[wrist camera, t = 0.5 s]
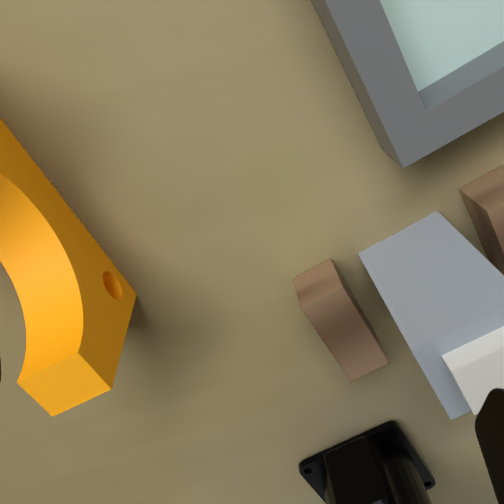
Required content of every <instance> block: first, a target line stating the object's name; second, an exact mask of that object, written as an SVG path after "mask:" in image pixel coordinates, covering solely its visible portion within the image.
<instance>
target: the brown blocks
mask: <svg viewBox="0 0 504 504" xmlns="http://www.w3.org/2000/svg"><path fill="white" fill-rule="evenodd" d="M459 190H460V192H461V195H462V197H463V200H464V202H465V204H466V207H467V209H468V212H469V214H470V217H471V219H472V221H473V224H474V226H475V229H476V231H477V233H478V236H479V238H480V241H481V243H482V245H483V248H484V250H485V253H486V255H487V258H488V260H489V262H490V263H491V264H492V265H493V266H494V267H495V268H496V269H498V270H499V271H500V272H501V273H502V274H503V275H504V166H500V167H499V168H497V169H495V170H493V171H491V172H489V173H488V174H486V175H484V176H482V177H480V178H478V179H476V180H475V181H473V182H471V183H469V184H467V185H465V186H464V187H462V188H460V189H459ZM293 280H294V284H295V287H296V291H297V295H298V298H299V302H300V306H301V309H302V311H303V312H304V313H305V315H306V316H307V318H308V319H309V321H310V322H311V324H312V325H313V327H314V328H315V330H316V331H317V332H318V334H319V335H320V337H321V338H322V340H323V341H324V343H325V344H326V346H327V347H328V349H329V350H330V352H331V353H332V354H333V356H334V357H335V359H336V360H337V362H338V363H339V365H340V366H341V368H342V369H343V371H344V372H345V373H346V375H347V376H348V378H349V379H350V381H353V380H356V379H358V378H360V377H362V376H364V375H366V374H368V373H370V372H372V371H374V370H376V369H378V368H380V367H383V366H385V365H387V364H389V361H388V359H387V357H386V355H385V353H384V350H383V348H382V346H381V344H380V342H379V340H378V338H377V336H376V333H375V331H374V329H373V328H372V326H371V325H370V323H369V321H368V320H367V318H366V316H365V315H364V313H363V311H362V310H361V308H360V306H359V305H358V303H357V301H356V300H355V298H354V296H353V295H352V293H351V292H350V290H349V288H348V287H347V285H346V283H345V282H344V280H343V278H342V277H341V275H340V273H339V272H338V270H337V268H336V267H335V265H334V263H333V262H332V260H331V259H329V260H327V261H325V262H323V263H321V264H319V265H318V266H316V267H314V268H312V269H310V270H308V271H306V272H305V273H303V274H301V275H299V276H297V277H295V278H294V279H293Z"/></svg>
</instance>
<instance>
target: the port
mask: <svg viewBox="0 0 504 504" xmlns="http://www.w3.org/2000/svg"><path fill="white" fill-rule="evenodd" d="M311 2H312V4H313V6H314V8H315V10H316V12H317V14H318V16H319V18H320V20H321V22H322V25H323V27H324V29H325V31H326V33H327V35H328V37H329V39H330V41H331V43H332V45H333V47H334V50H335V52H336V54H337V56H338V58H339V60H340V62H341V64H342V66H343V68H344V70H345V72H346V75H347V77H348V79H349V81H350V83H351V85H352V87H353V89H354V91H355V93H356V95H357V98H358V100H359V102H360V104H361V106H362V108H363V110H364V112H365V114H366V116H367V118H368V120H369V123H370V125H371V127H372V129H373V131H374V133H375V135H376V137H377V139H378V141H379V143H380V146H381V148H382V149H383V150H384V151H385V152H386V153H387V154H388V155H389V156H390V157H391V158H392V159H394V160H395V161H396V162H397V163H398V164H399V165H400V166H401V167H402V168H405V167H407V166H409V165H410V164H412V163H414V162H416V161H417V160H419V159H421V158H423V157H425V156H426V155H428V154H430V153H432V152H433V151H435V150H437V149H439V148H441V147H442V146H444V145H446V144H448V143H449V142H451V141H453V140H455V139H457V138H458V137H460V136H462V135H464V134H465V133H467V132H469V131H471V130H473V129H474V128H476V127H478V126H480V125H481V124H483V123H485V122H487V121H488V120H490V119H492V118H494V117H496V116H497V115H499V114H501V113H503V112H504V0H311Z"/></svg>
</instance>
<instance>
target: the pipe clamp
mask: <svg viewBox="0 0 504 504" xmlns="http://www.w3.org/2000/svg"><path fill="white" fill-rule="evenodd" d="M0 261H1V263H2V264H3V266H4V268H5V269H6V271H7V272H8V274H9V276H10V278H11V280H12V282H13V284H14V287H15V289H16V291H17V294H18V297H19V299H20V302H21V306H22V309H23V313H24V319H25V324H26V355H25V360H24V364H23V368H22V371H21V374H20V376H19V378H18V381H17V383H18V384H19V385H20V386H21V387H22V388H23V389H24V390H25V391H26V392H27V393H28V394H29V395H30V396H32V397H33V398H34V399H35V400H36V401H37V402H38V403H39V404H40V405H41V406H42V407H43V408H44V409H45V410H46V411H47V412H48V413H49V414H50V415H51V416H52V417H53V416H55V415H57V414H59V413H61V412H64V411H66V410H68V409H70V408H72V407H74V406H77V405H79V404H81V403H83V402H85V401H87V400H89V399H92V398H94V397H96V396H98V395H100V394H102V393H105V392H107V391H109V390H111V389H112V385H113V382H114V378H115V374H116V370H117V367H118V363H119V359H120V355H121V352H122V348H123V344H124V340H125V336H126V333H127V329H128V325H129V321H130V318H131V314H132V310H133V306H134V303H135V299H136V295H137V294H136V292H135V291H134V290H133V289H132V287H131V286H130V285H129V283H128V282H127V281H126V280H125V278H124V277H123V276H122V274H121V273H120V272H119V271H118V269H117V268H116V267H115V265H114V264H113V263H112V261H111V260H110V259H109V258H108V256H107V255H106V254H105V252H104V251H103V250H102V249H101V247H100V246H99V245H98V243H97V242H96V241H95V240H94V238H93V237H92V236H91V234H90V233H89V232H88V231H87V229H86V228H85V227H84V225H83V224H82V223H81V222H80V220H79V219H78V218H77V216H76V215H75V214H74V212H73V211H72V210H71V209H70V207H69V206H68V205H67V203H66V202H65V201H64V200H63V198H62V197H61V196H60V194H59V193H58V192H57V191H56V189H55V188H54V187H53V185H52V184H51V183H50V182H49V180H48V179H47V178H46V176H45V175H44V174H43V173H42V171H41V170H40V169H39V167H38V166H37V165H36V163H35V162H34V161H33V160H32V158H31V157H30V156H29V154H28V153H27V152H26V151H25V149H24V148H23V147H22V145H21V144H20V143H19V142H18V140H17V139H16V138H15V136H14V135H13V134H12V133H11V131H10V130H9V129H8V127H7V126H6V125H5V123H4V122H3V121H2V120H1V118H0Z"/></svg>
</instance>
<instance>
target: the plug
mask: <svg viewBox="0 0 504 504" xmlns="http://www.w3.org/2000/svg"><path fill="white" fill-rule="evenodd" d="M358 255H359V257H360V258H361V260H362V262H363V264H364V266H365V268H366V269H367V271H368V273H369V275H370V277H371V279H372V280H373V282H374V284H375V286H376V288H377V289H378V291H379V293H380V295H381V297H382V299H383V300H384V302H385V304H386V306H387V308H388V310H389V311H390V313H391V315H392V317H393V319H394V320H395V322H396V324H397V326H398V328H399V330H400V331H401V333H402V335H403V337H404V339H405V340H406V342H407V344H408V346H409V348H410V350H411V351H412V353H413V355H414V357H415V358H416V360H417V362H418V364H419V365H420V367H421V369H422V371H423V372H424V374H425V376H426V378H427V379H428V381H429V383H430V385H431V386H432V388H433V390H434V392H435V393H436V395H437V397H438V399H439V400H440V402H441V404H442V406H443V407H444V409H445V411H446V413H447V414H448V416H449V418H450V420H453V419H455V418H457V417H459V416H462V415H464V414H466V413H468V412H471V411H472V412H473V414H474V415H476V414H478V413H479V411H480V409H481V407H482V405H483V403H484V401H485V399H486V397H487V395H488V394H489V392H490V391H491V390H492V389H494V388H503V389H504V275H503V274H502V273H501V272H500V271H499V270H498V269H496V268H495V267H494V266H493V265H492V264H491V263H490V262H489V261H488V260H487V259H486V258H485V257H484V256H483V255H482V254H481V253H480V252H479V251H478V250H477V249H476V248H475V247H474V246H473V245H472V244H471V243H470V242H469V241H468V240H467V239H466V238H465V237H464V236H463V235H462V234H461V233H460V232H458V231H457V230H456V229H455V228H454V227H453V226H452V225H451V224H450V223H449V222H448V221H447V220H446V219H445V218H444V217H443V216H442V215H441V214H440V213H439V212H438V211H436V212H434V213H432V214H431V215H429V216H427V217H425V218H423V219H421V220H419V221H418V222H416V223H414V224H412V225H410V226H408V227H406V228H404V229H403V230H401V231H399V232H397V233H395V234H393V235H391V236H390V237H388V238H386V239H384V240H382V241H380V242H378V243H377V244H375V245H373V246H371V247H369V248H367V249H365V250H364V251H362V252H360V253H358Z"/></svg>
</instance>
